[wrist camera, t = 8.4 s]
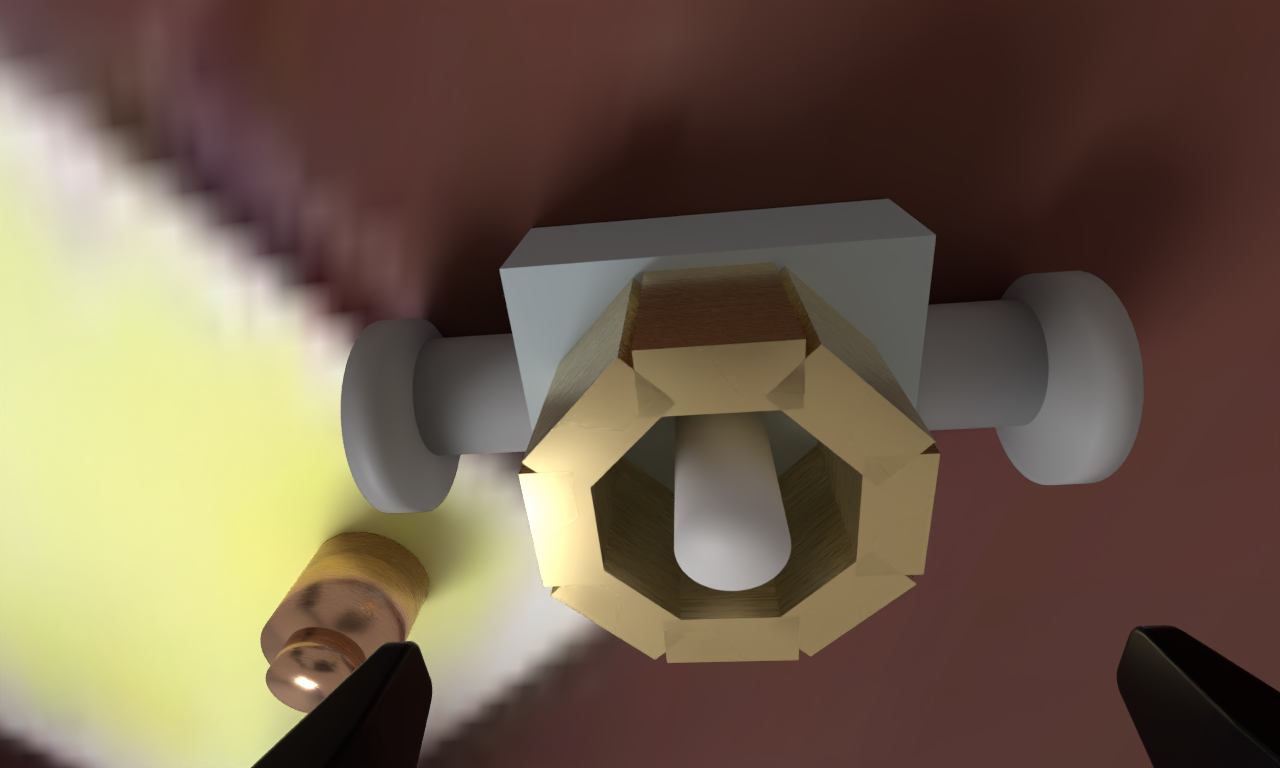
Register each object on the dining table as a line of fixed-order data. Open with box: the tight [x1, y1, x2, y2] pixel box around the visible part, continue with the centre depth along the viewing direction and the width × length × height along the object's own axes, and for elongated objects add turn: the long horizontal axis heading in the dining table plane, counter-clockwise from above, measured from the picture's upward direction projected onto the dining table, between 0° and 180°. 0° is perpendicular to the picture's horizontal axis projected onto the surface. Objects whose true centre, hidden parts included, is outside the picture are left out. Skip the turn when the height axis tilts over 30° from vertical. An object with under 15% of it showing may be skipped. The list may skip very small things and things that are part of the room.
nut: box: [519, 262, 940, 663], centre depth 12 cm, size 6×6×4 cm
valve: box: [341, 199, 1144, 591], centre depth 13 cm, size 15×7×7 cm, turn 95°
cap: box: [261, 532, 428, 713], centre depth 19 cm, size 4×4×4 cm
